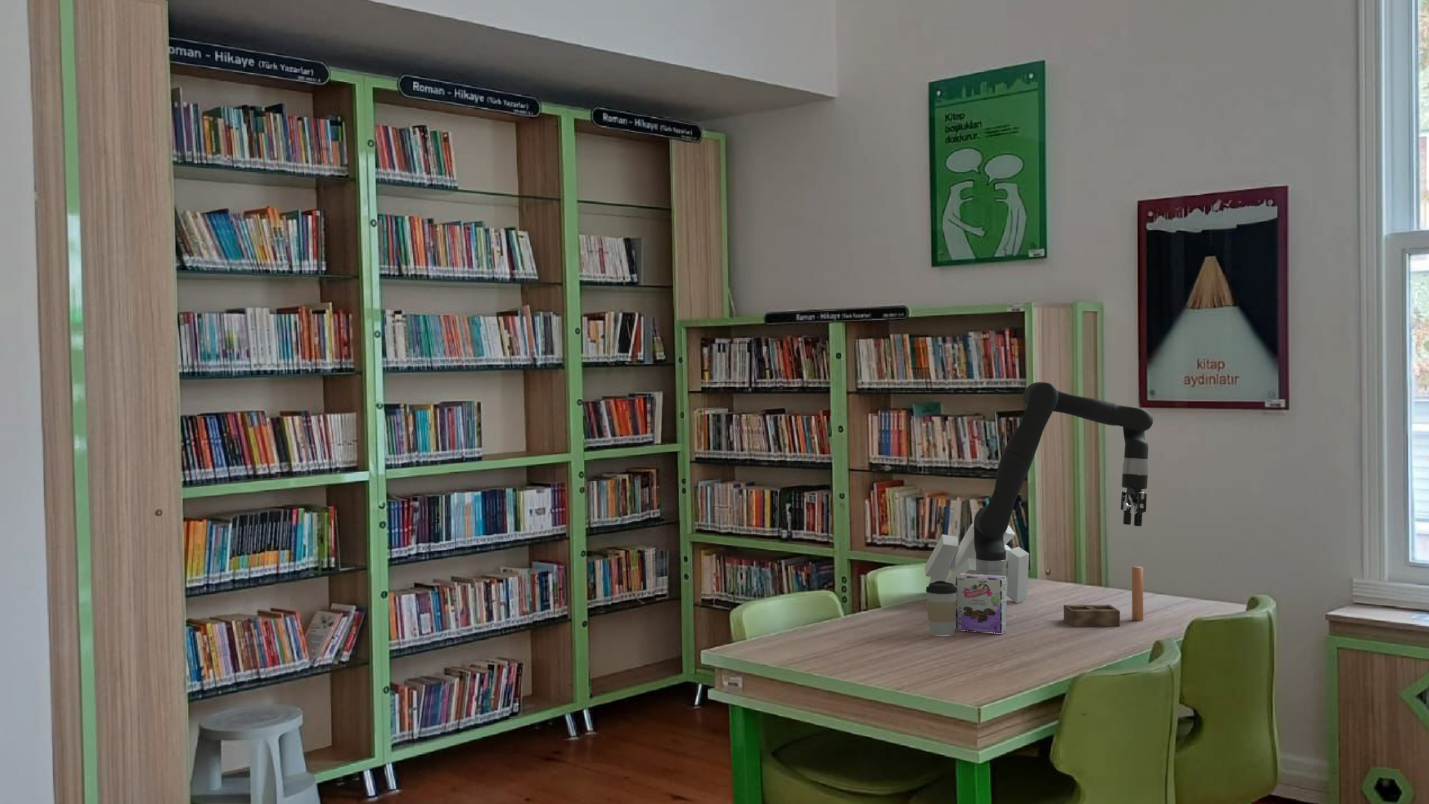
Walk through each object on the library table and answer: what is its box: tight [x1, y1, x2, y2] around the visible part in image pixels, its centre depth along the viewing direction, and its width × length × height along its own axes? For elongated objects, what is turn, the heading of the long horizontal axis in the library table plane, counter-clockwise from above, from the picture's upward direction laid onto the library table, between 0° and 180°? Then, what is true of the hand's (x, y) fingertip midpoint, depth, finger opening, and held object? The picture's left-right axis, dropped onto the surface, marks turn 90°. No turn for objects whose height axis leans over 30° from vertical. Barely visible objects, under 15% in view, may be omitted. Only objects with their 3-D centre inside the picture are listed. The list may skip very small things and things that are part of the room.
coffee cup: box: [925, 581, 958, 636], centre depth 363 cm, size 9×9×15 cm
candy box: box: [955, 573, 1007, 634], centre depth 366 cm, size 14×6×16 cm, turn 62°
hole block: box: [1063, 604, 1121, 627], centre depth 376 cm, size 14×10×4 cm
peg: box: [1131, 566, 1144, 622], centre depth 380 cm, size 3×3×16 cm
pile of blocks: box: [924, 522, 1030, 604], centre depth 412 cm, size 35×30×35 cm
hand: (1132, 525), depth 390 cm, fingers open, 8 cm apart
